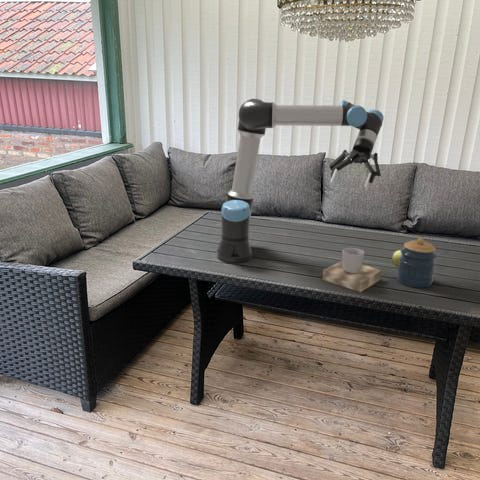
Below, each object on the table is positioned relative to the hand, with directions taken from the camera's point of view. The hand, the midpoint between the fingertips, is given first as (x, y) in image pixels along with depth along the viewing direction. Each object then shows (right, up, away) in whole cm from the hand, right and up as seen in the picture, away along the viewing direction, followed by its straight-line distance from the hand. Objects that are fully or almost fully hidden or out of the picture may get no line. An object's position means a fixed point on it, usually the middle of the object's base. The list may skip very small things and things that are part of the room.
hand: (348, 186), depth 175 cm
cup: (+1, -32, -2) cm, 32 cm away
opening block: (+1, -36, -1) cm, 36 cm away
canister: (+25, -37, -1) cm, 45 cm away
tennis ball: (+26, -31, +17) cm, 44 cm away
